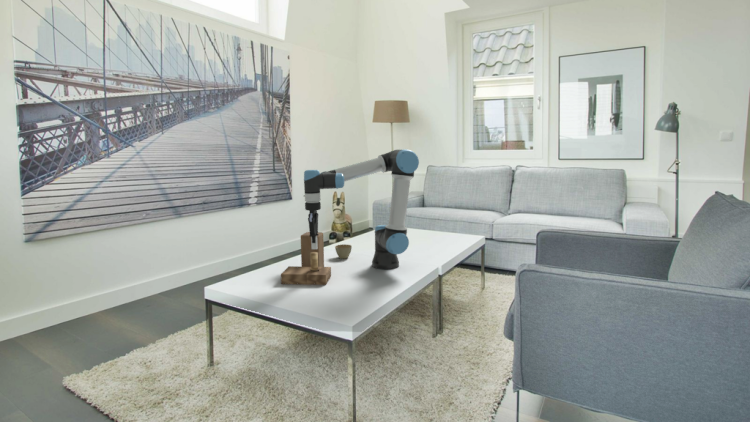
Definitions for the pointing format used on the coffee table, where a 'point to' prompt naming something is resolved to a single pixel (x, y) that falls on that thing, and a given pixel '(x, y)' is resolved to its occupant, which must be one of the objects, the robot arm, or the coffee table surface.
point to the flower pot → (343, 250)
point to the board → (306, 276)
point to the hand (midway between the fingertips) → (314, 248)
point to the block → (307, 249)
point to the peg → (314, 261)
